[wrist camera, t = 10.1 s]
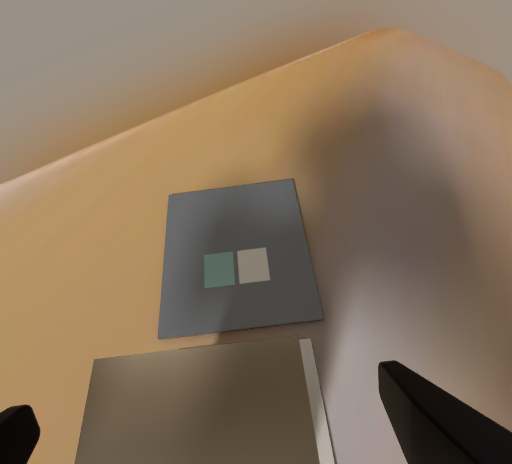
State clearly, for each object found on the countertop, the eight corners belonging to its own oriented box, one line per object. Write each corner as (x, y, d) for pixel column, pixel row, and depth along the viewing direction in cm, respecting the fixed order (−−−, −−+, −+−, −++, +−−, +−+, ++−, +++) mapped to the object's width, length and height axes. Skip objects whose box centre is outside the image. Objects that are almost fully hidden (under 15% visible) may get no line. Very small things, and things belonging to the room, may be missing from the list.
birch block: (306, 492, 13) (358, 688, 4) (197, 503, 13) (27, 719, 4) (288, 370, 15) (298, 335, 7) (198, 380, 15) (94, 359, 7)
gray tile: (323, 319, 17) (323, 318, 17) (159, 339, 17) (157, 338, 17) (292, 181, 22) (292, 178, 22) (170, 197, 23) (168, 194, 22)
